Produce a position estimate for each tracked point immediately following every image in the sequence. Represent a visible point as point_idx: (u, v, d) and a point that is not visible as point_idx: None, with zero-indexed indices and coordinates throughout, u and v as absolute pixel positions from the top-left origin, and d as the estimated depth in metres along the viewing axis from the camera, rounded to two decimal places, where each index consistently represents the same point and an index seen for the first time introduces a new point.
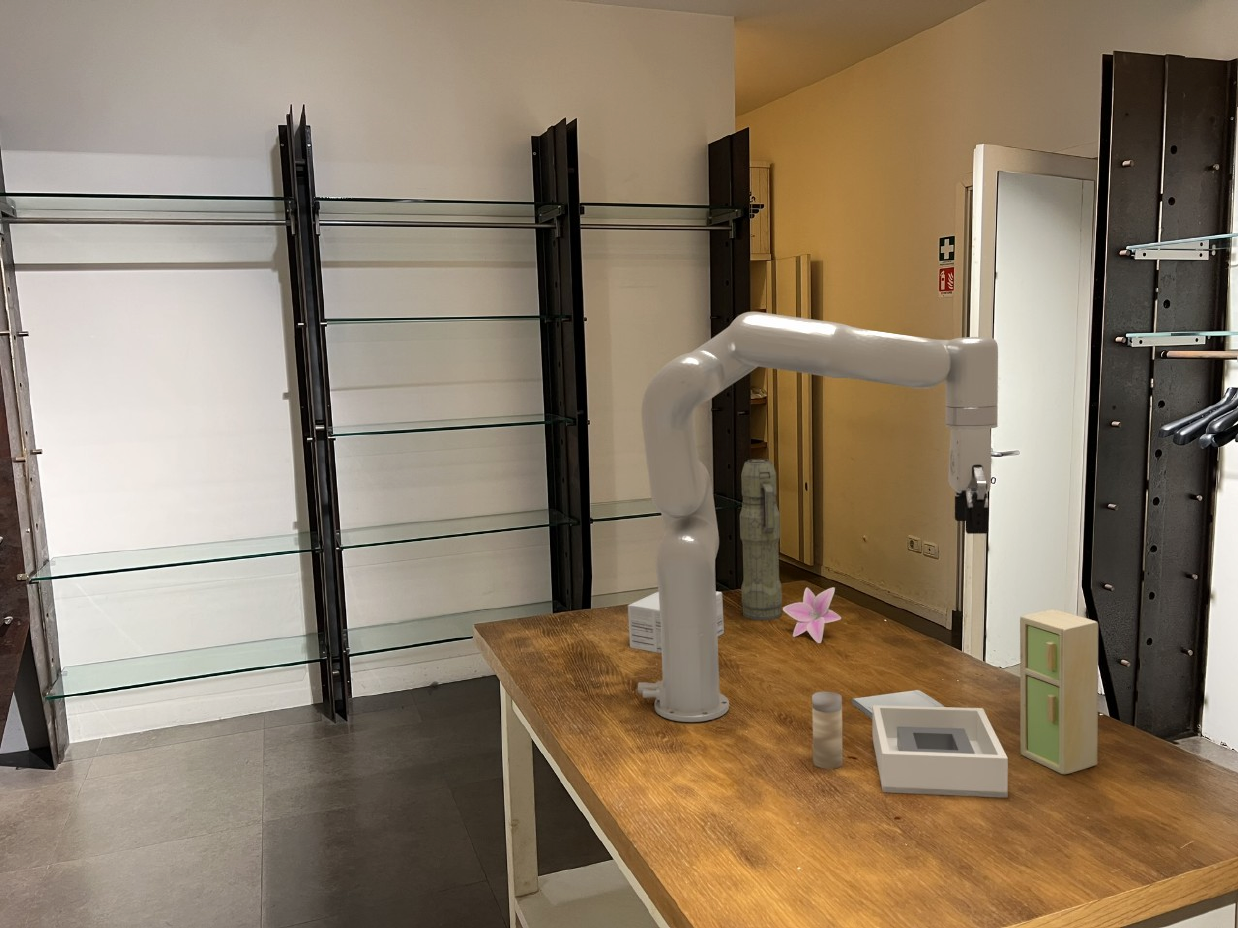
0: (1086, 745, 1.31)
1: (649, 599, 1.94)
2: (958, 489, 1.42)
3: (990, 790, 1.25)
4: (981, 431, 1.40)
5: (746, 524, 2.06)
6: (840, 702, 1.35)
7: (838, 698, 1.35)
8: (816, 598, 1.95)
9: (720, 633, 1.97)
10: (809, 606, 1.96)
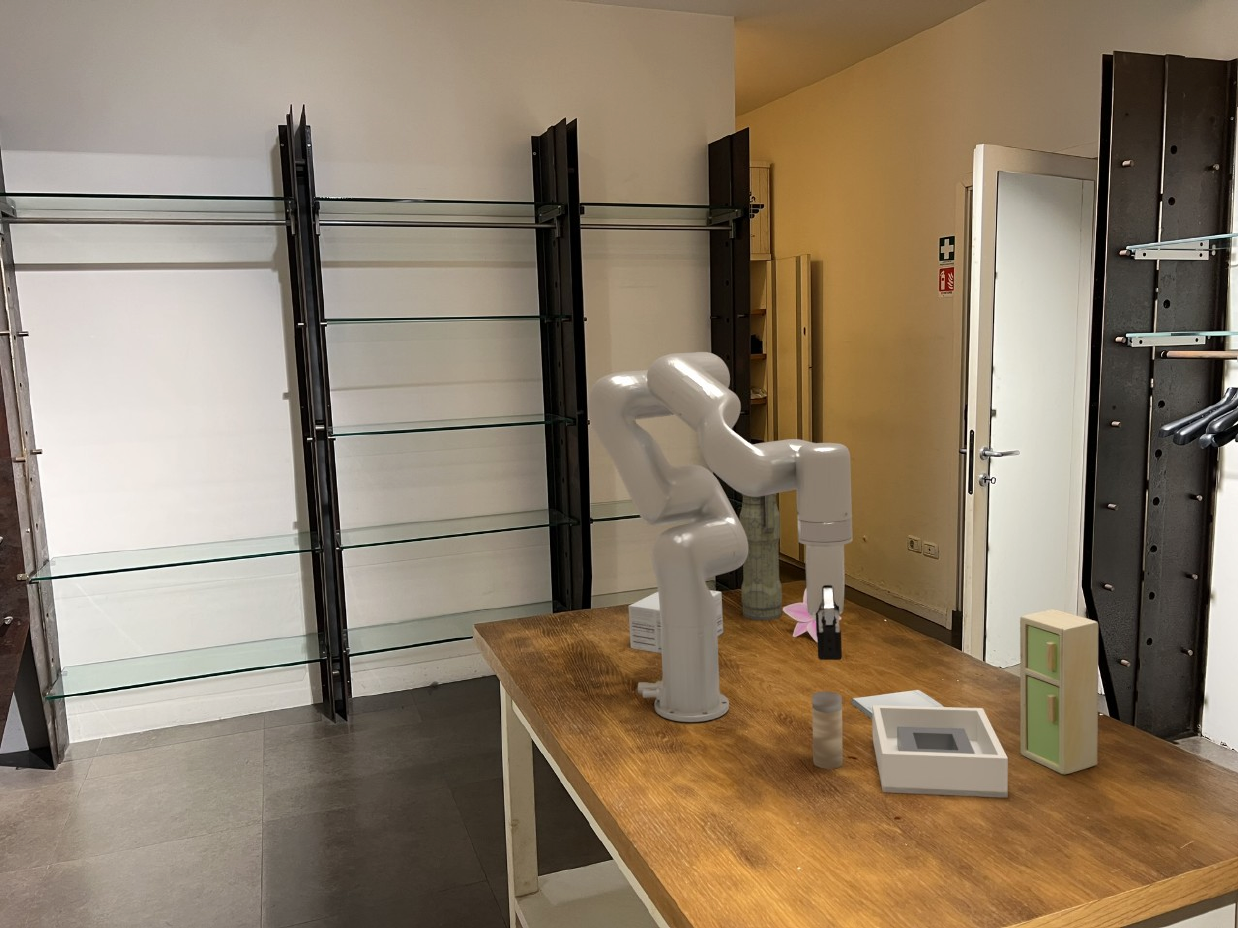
0: (1086, 745, 1.31)
1: (649, 599, 1.94)
2: (809, 611, 1.30)
3: (990, 790, 1.25)
4: (831, 548, 1.28)
5: (746, 524, 2.06)
6: (840, 702, 1.35)
7: (838, 698, 1.35)
8: None
9: (720, 633, 1.98)
10: None
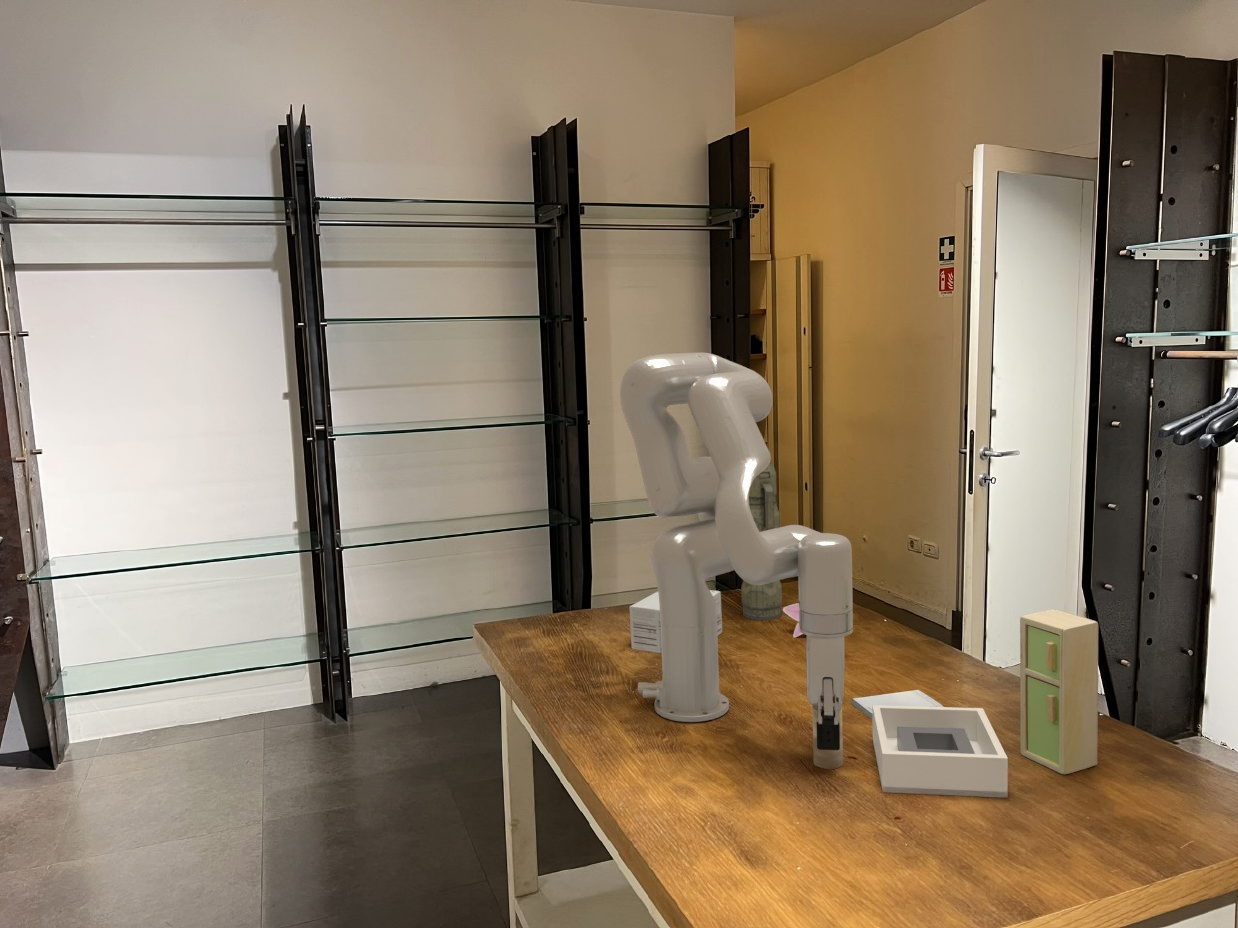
0: (1086, 745, 1.31)
1: (649, 600, 1.94)
2: (809, 701, 1.32)
3: (990, 790, 1.25)
4: (832, 641, 1.30)
5: None
6: None
7: None
8: None
9: (719, 632, 1.98)
10: None
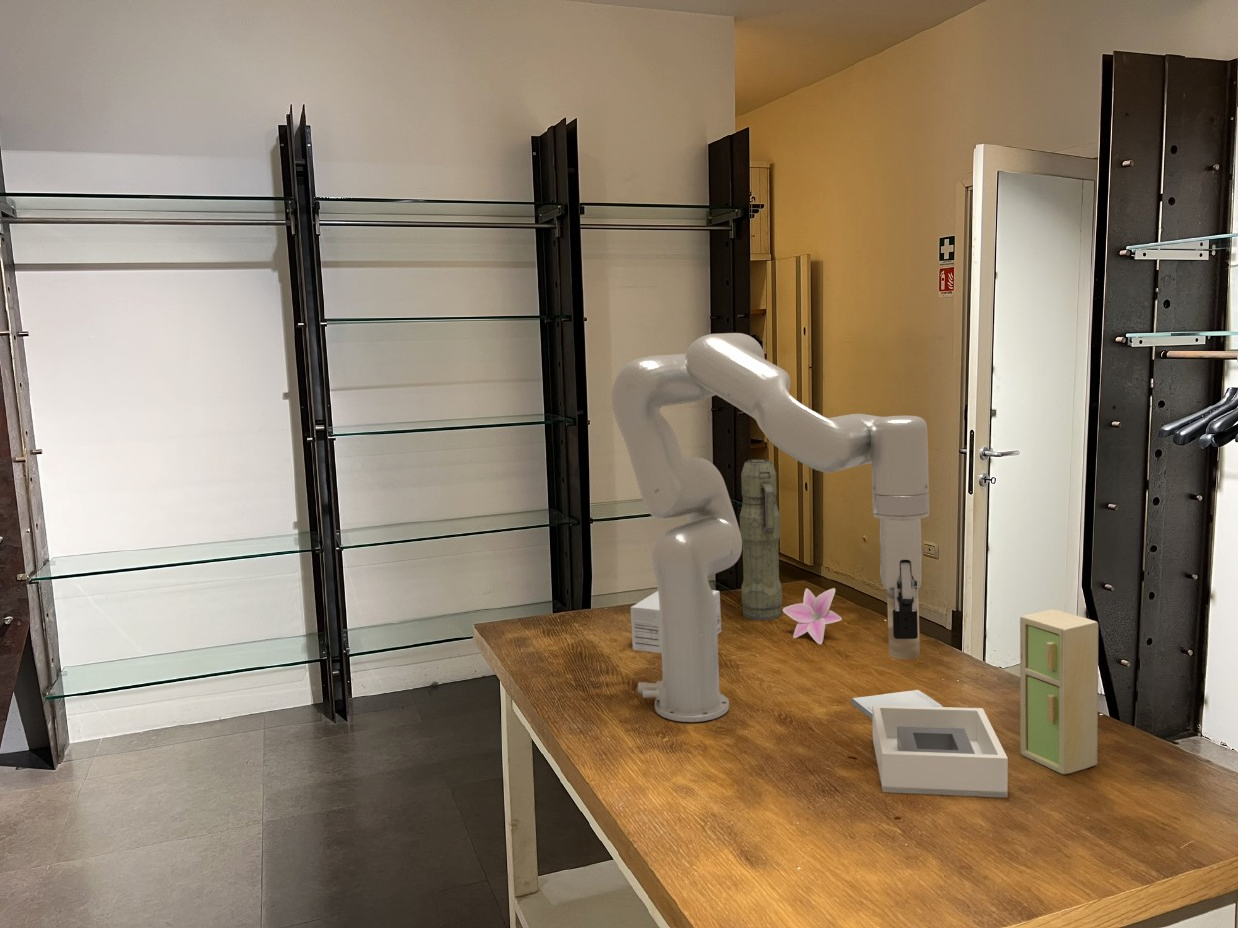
0: (1086, 745, 1.31)
1: (650, 600, 1.93)
2: (885, 586, 1.27)
3: (990, 790, 1.25)
4: (909, 522, 1.26)
5: (746, 524, 2.06)
6: (917, 590, 1.30)
7: None
8: (816, 599, 1.95)
9: (718, 631, 1.98)
10: (809, 607, 1.95)
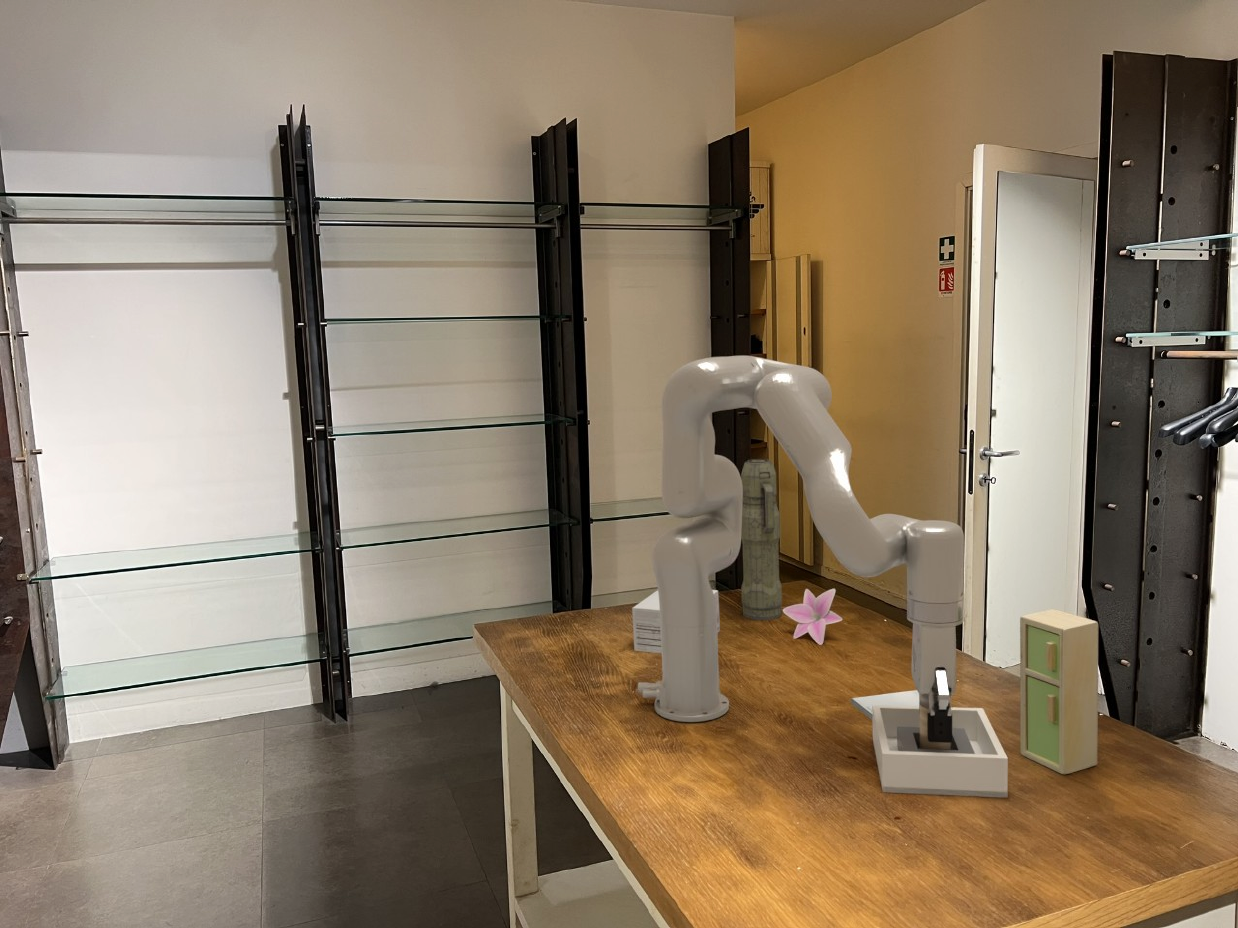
0: (1086, 745, 1.31)
1: (650, 601, 1.93)
2: (920, 692, 1.29)
3: (990, 790, 1.25)
4: (945, 630, 1.27)
5: (746, 524, 2.06)
6: (950, 700, 1.32)
7: None
8: (816, 599, 1.94)
9: (717, 631, 1.99)
10: (809, 608, 1.95)
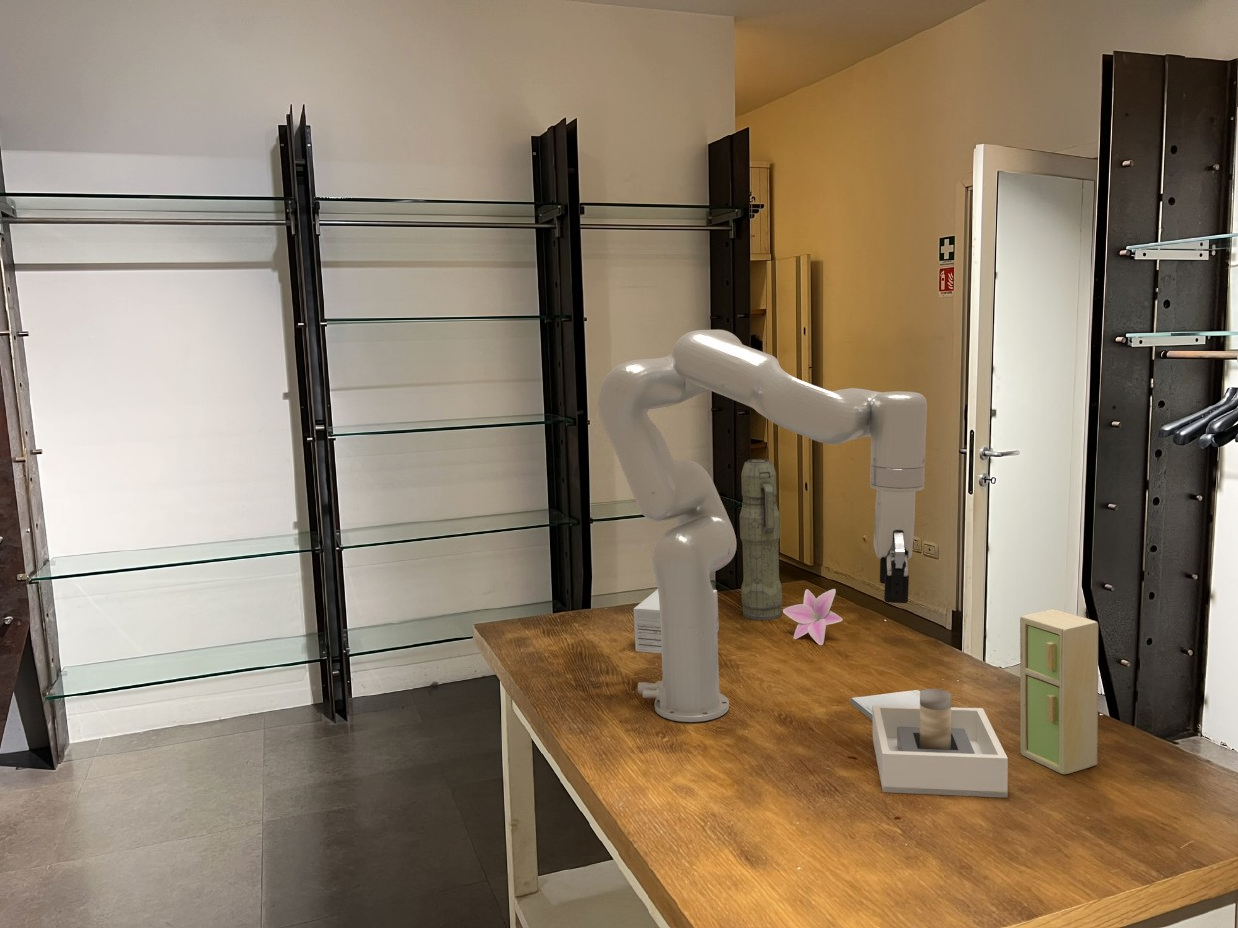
0: (1086, 745, 1.31)
1: (651, 601, 1.93)
2: (878, 554, 1.33)
3: (990, 790, 1.25)
4: (904, 494, 1.31)
5: (746, 524, 2.06)
6: (950, 699, 1.32)
7: (947, 695, 1.32)
8: (817, 600, 1.94)
9: None
10: (809, 608, 1.95)
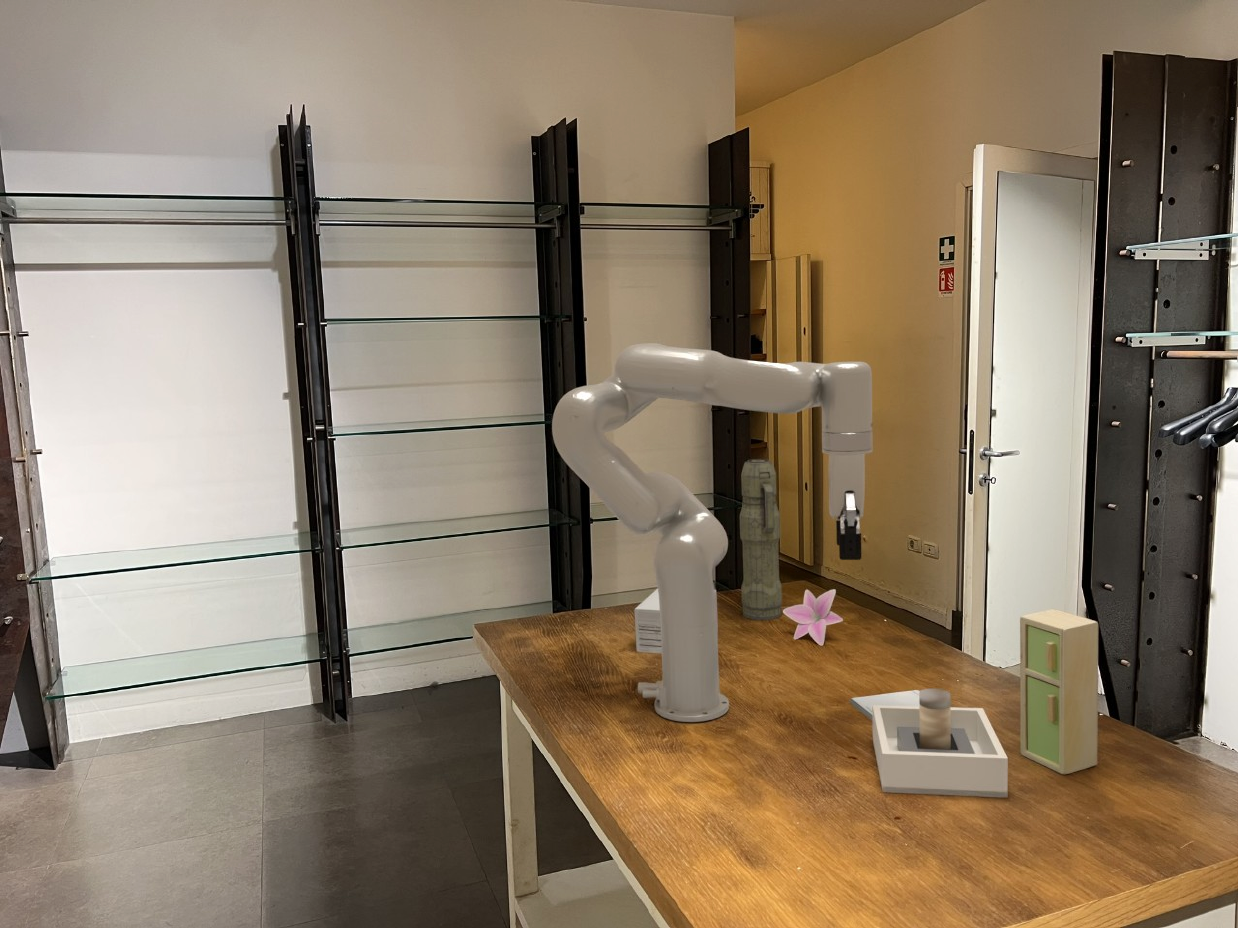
0: (1086, 745, 1.31)
1: (651, 601, 1.93)
2: (831, 515, 1.41)
3: (990, 790, 1.25)
4: (853, 457, 1.39)
5: (746, 524, 2.06)
6: (949, 699, 1.32)
7: (947, 695, 1.32)
8: (817, 600, 1.94)
9: None
10: (809, 609, 1.95)
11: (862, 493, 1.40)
